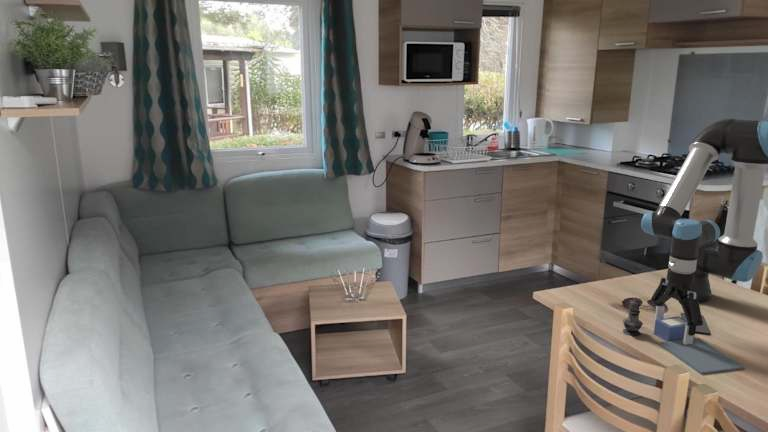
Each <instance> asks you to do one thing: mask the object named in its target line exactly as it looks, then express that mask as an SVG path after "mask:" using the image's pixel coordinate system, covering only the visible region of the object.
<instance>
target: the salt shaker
mask: <svg viewBox="0 0 768 432" xmlns="http://www.w3.org/2000/svg"><path fill="white" fill-rule="evenodd" d="M640 302H641V301H639V300H638V299H637V297H634V299H631V300H630V301H629V308H628V309H627V312H628V317H627V318H623V320H622V322H623V326H624V328H623V330H622V332H623V334H625V335H627V336H631V337H639V336H641V334H642V333H641V332H640V331H639V330H641V328H642V326H643V325H644V324H643V321H641V320H640V318H639V316H640V313H641V311H640V305H641V303H640Z"/></svg>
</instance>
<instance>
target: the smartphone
mask: <svg viewBox="0 0 768 432" xmlns="http://www.w3.org/2000/svg"><path fill="white" fill-rule="evenodd" d="M680 316H681V318H683V319H685V320H687V319H686V316H685V313H684V312H680ZM701 316H702V321H703V325H701V326H696V332H695V334H698V335H699V334H700V335H704V336H705V335H706V336H710V335H711V332H710V330H709V327H708V325H707V321H706V320H705V318H704V317H705V316H703V315H702V314H701Z"/></svg>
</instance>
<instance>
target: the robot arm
mask: <svg viewBox="0 0 768 432" xmlns="http://www.w3.org/2000/svg"><path fill="white" fill-rule="evenodd" d="M688 152H689V153H688V154H687V156H686V158H685V160H684V162H683V164H682V165H681V166H680V168H679V170H678V172H677V174H676V175H675V177H674V178H673V181H672V182H671V184H670V186H669V188H668V190H667V191H666V193H665V194H664V197H663V198H662V199H661V202H660V203H659V206H658V207H657V209H656V210H655V211H654V210H652V211H651V210H649V211H646V212H645V213H644V214H643V216H642V218H641V221H640V222H641V223H640V224H641V225H640V226H641V227H640V228H641V229H642V231H643V232H644V233H646V234H648V235H652V236H654V237H659V238H660V237H661V238H664V239H668V240H670V239H671V245H670V252H669V258H668V259H669V260H668V269H667V273H666V277H661V278H660V281H659V283H658V284H659V285H658V286H657V288H656V289H655V291H654V292H653V295H652V296H651V299H650V301H652V302H653V303H654V320H653V326H655V320H658V319H664V318H665V317H664V316H665V309H666V306H665V303H666V302H667V301H669V300H671V298H673V299H675V300H676V301H678V303H679V304H680V305H681V308H682V310H683V313H685V316H686V319H687V321H688V324H686V326H685V333H684V340H683V344H684V345H686V344H692V343H693V339H694V336H695V335H696V333H695V332H696V326H701V325H703V321H702V316H703V315H702V312H701V307H700V303H705V302H708V301H710V300H711V299H712V289H711V284H710V279H709V274H710V275H714V276H718V277H722V278H725V279H729V280H732V281H736V282H742V283H747V282H749V281H751V280H753V279H754V277H755V276H756V275H757V273H758V272H759V269H760V267H761V265H762V262H763V252H762V251H761V250H759V249H758V242H757V241H756V240H755V238H754V236H755V231H756V230H755V229H756V225H757V219H758V214H759V207H760V201H761V197H762V191H763V187H764V179H765V175H766V169H767V168H768V121H767V120H753V119H737V118H736V119H735V118H722V119H719V120H717V121H714V122H713V123H711V124H709V125H707V126H706V127H705V128H703V129H702V130H701V131H700V132H699V133H698V134H697V135H695V137H694V138H693V140H692V141H691V143H690V144H689V146H688ZM722 154H726V155H731V159H730V161H731V163H733V165H734V172H733V179H732V184H731V185H732V186H731V190H730V196H729V203H728V208H727V215H726V220H725V221H726V222H725V226H724V227H725V228H724V233H723V235H721V229H720V227H719V225H718V224H717V223H716V222H715V221H713V220H709V219H708V220H707V219H705V220H703V219H702V220H700V221H699V220H695V219H689V218H684V217H682V215H683V214H684V212H685V210H686V208H687V206H688V204H690V201H691V199H692V197H693V196H694V194H695V192H696V191H697V188H698V187H699V185H700V184H701V181H702V180H703V178H704V176H705V174H706V173H707V172H708V169H709V168H710V166H711V164H712V162H715V161H716V160H718V158H719V157H720V155H722ZM720 235H721V236H720ZM701 315H702V316H701Z"/></svg>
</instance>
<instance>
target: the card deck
mask: <svg viewBox="0 0 768 432" xmlns="http://www.w3.org/2000/svg"><path fill="white" fill-rule="evenodd" d="M686 324H688V321H687V320H685V319H683V318H682V317H680V316H672V317H664V318H663V319H658V320H655V325H654V328H653V329H654V330H653V334H654V335H655V336H657V337H658V338H659V339H662V340H664V342H668V341H677V340H684V333H685V326H686Z"/></svg>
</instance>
